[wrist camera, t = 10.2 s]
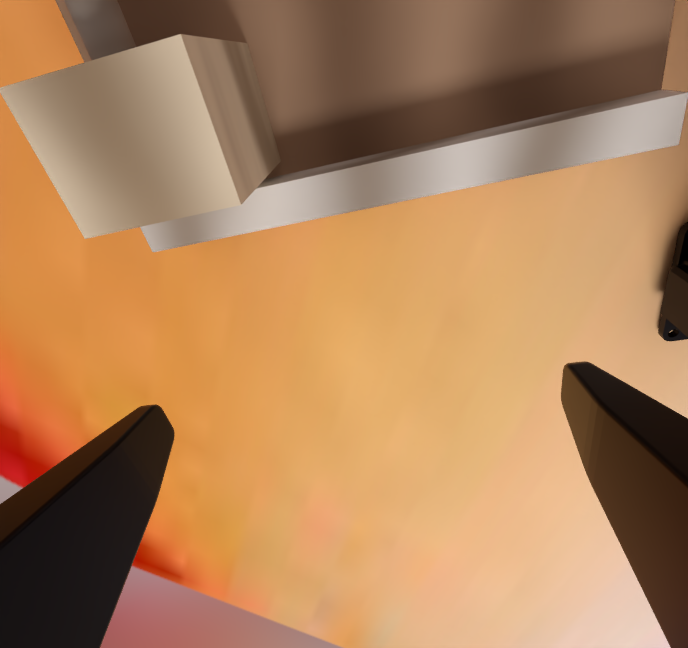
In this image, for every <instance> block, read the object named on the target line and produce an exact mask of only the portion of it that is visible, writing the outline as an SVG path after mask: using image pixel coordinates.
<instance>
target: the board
mask: <svg viewBox="0 0 688 648" xmlns="http://www.w3.org/2000/svg"><path fill="white" fill-rule="evenodd" d="M117 1H118V3H119V6H120V8H121V11H122V13H123V15H124V18H125V20H126V23H127V25H128V28H129V30H130V33H131V35H132V38H133V40H134V42H135V45H136V47H139V46H142V45H145V44H149V43H152V42H156V41H159V40H162V39H166V38H169V37H172V36H176V35H179V34H184V35H191V36H198V37H206V38H213V39H220V40H227V41H235V42H242V43H247V44H248V47H249V51H250V54H251V58H252V61H253V65H254V68H255V72H256V75H257V79H258V82H259V86H260V89H261V93H262V96H263V100H264V103H265V106H266V110H267V113H268V117H269V120H270V124H271V127H272V131H273V134H274V138H275V141H276V145H277V148H278V152H279V155H280V159H281V162H280V163H279V164H278V165H277V166H276V167H275V168H274V169H273V170H272V172H271V173H270V174H269V175H268V176H267V177H266V178H265V179H264V180H263V181H262V183H261V184H260V185H259V186H258V187H257V188H256V189H255V190H254V191H253V193H252V194H251V195H250V196H249V197H248V198H247V199H246V200H245V201H244V202H243V204H242V205H239V206H234V207H230V208H225V209H220V210H216V211H211V212H206V213H202V214H197V215H193V216H188V217H183V218H179V219H174V220H170V221H165V222H160V223H156V224H151V225H147V226H142V227H140V228H141V230H142V232H143V234H144V236H145V238H146V240H147V242H148V244H149V246H150V248H151V250H152V252H157V251H162V250H167V249H172V248H177V247H182V246H186V245H191V244H196V243H201V242H206V241H211V240H216V239H221V238H226V237H230V236H235V235H240V234H245V233H250V232H255V231H260V230H265V229H270V228H274V227H279V226H284V225H289V224H294V223H299V222H304V221H309V220H314V219H318V218H323V217H328V216H333V215H338V214H343V213H348V212H353V211H358V210H362V209H367V208H372V207H377V206H382V205H387V204H392V203H397V202H402V201H406V200H411V199H416V198H421V197H426V196H431V195H436V194H441V193H446V192H450V191H455V190H460V189H465V188H470V187H475V186H480V185H485V184H490V183H494V182H499V181H504V180H509V179H514V178H519V177H524V176H529V175H534V174H538V173H543V172H548V171H553V170H558V169H563V168H568V167H573V166H578V165H582V164H587V163H592V162H597V161H602V160H607V159H612V158H617V157H622V156H626V155H631V154H636V153H641V152H646V151H651V150H656V149H661V148H666V147H670V146H675V145H679V141H680V136H681V131H682V125H683V120H684V115H685V109H686V104H687V99H688V92H680V91H670V90H661V88H662V81H663V75H664V69H665V62H666V56H667V50H668V43H669V37H670V30H671V24H672V18H673V11H674V5H675V0H117ZM56 3H57V5H58V7H59V9H60V11H61V13H62V15H63V18H64V20H65V22H66V24H67V26H68V28H69V30H70V32H71V35H72V37H73V39H74V41H75V43H76V45H77V47H78V49H79V52H80V54H81V56H82V58H83V60H84V62H88V61H92V60H91V58H90V56H89V54H88V51H87V49H86V47H85V45H84V43H83V41H82V38H81V36H80V34H79V32H78V30H77V28H76V25H75V23H74V21H73V19H72V17H71V15H70V12H69V10H68V8H67V6H66V4H65V2H64V0H56Z"/></svg>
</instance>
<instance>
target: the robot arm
mask: <svg viewBox="0 0 688 648" xmlns="http://www.w3.org/2000/svg"><path fill="white" fill-rule="evenodd" d="M661 314H662V315H661V320H660V325H659V330H658V334H659V335H660V336H661V337H662V338H663V339H664V340H666V341H677V340H684V339H688V222H687V223H685V224H684V225H683V226H682V227H681V229H680V231H679V234H678V239H677V244H676V249H675V253H674V258H673V263H672V268H671V269H670V271H669V273H668V278H667V283H666V288H665V293H664V298H663V302H662V307H661ZM671 330H673V331H672V332H670V331H671ZM669 332H670V333H669ZM561 401H562V405H563V408H564V411H565V414H566V417H567V420H568V423H569V426H570V428H571V431H572V434H573V437H574V440H575V443H576V446H577V449H578V451H579V454H580V457H581V460H582V463H583V466H584V468H585V471H586V474H587V476H588V478H589V480H590V483H591V485H592V487H593V489H594V491H595V493H596V495H597V497H598V499H599V501H600V503H601V505H602V508H603V510H604V512H605V514H606V516H607V518H608V520H609V522H610V524H611V526H612V528H613V530H614V532H615V534H616V536H617V538H618V540H619V542H620V544H621V546H622V549H623V551H624V553H625V555H626V557H627V559H628V561H629V563H630V565H631V567H632V569H633V571H634V573H635V575H636V577H637V579H638V581H639V583H640V585H641V587H642V590H643V592H644V594H645V596H646V598H647V600H648V602H649V604H650V606H651V608H652V610H653V612H654V614H655V616H656V618H657V620H658V622H659V624H660V626H661V629H662V631H663V633H664V635H665V637H666V639H667V641H668V643H669V645H670V647H671V648H688V419H687V418H686V417H684V416H682V415H680V414H679V413H677V412H675V411H673V410H672V409H670V408H668V407H666V406H665V405H663V404H661V403H659V402H658V401H656V400H654V399H652V398H651V397H649V396H647V395H646V394H644V393H642V392H640V391H639V390H637V389H635V388H633V387H632V386H630V385H628V384H626V383H625V382H623V381H621V380H619V379H618V378H616V377H614V376H612V375H611V374H609V373H607V372H605V371H604V370H602V369H600V368H598V367H597V366H595V365H593V364H592V363H589V362H575V363H567V364H566V365H565V366H564V369H563V378H562V388H561ZM173 441H174V429H173V427H172V425H171V423H170V422H169V420H168V418H167V416H166V415H165V413H164V411H163V409H162V408H161V407H160V406H158V405H146V406H141V407H139V408H137V409H136V410H134V411H133V412H131V413H130V414H129V415H127V416H126V417H124V418H123V419H121V420H120V421H119V422H117V423H116V424H114V425H113V426H111V427H110V428H109V429H107V430H106V431H104V432H103V433H101V434H100V435H99V436H97V437H96V438H94V439H93V440H91V441H90V442H89V443H87V444H86V445H84V446H83V447H81V448H80V449H79V450H77V451H76V452H74V453H73V454H71V455H70V456H68V457H67V458H66V459H64V460H63V461H61V462H60V463H58V464H57V465H56V466H54V467H53V468H51V469H50V470H48V471H47V472H46V473H44V474H43V475H41V476H40V477H38V478H37V479H36V480H34V481H33V482H31V483H30V484H28V485H27V486H26V487H24V488H23V489H21V490H20V491H18V492H17V493H16V494H14V495H13V496H11V497H10V498H8V499H7V500H6V501H4V502H3V503H1V504H0V648H100V647H101V644H102V641H103V639H104V636H105V633H106V631H107V628H108V626H109V623H110V620H111V618H112V615H113V613H114V610H115V608H116V605H117V602H118V600H119V597H120V595H121V592H122V589H123V587H124V584H125V581H126V579H127V576H128V574H129V571H130V569H131V566H132V563H133V561H134V558H135V556H136V553H137V550H138V548H139V545H140V543H141V540H142V538H143V535H144V532H145V530H146V527H147V525H148V522H149V519H150V517H151V514H152V512H153V509H154V506H155V503H156V501H157V498H158V494H159V491H160V488H161V484H162V481H163V477H164V473H165V470H166V466H167V463H168V459H169V455H170V452H171V448H172V444H173Z"/></svg>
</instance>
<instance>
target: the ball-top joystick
mask: <svg viewBox="0 0 688 648" xmlns="http://www.w3.org/2000/svg"><path fill="white" fill-rule="evenodd" d="M64 2H65V4H66V6H67V8H68V10H69V12H70V15H71V17H72V19H73V21H74V23H75V25H76V28H77V30H78V32H79V34H80V36H81V38H82V41H83V43H84V45H85V47H86V49H87V51H88V54H89V56H90V58H91V60H92V61H88V62H85V63H82V64H78V65H75V66H72V67H68V68H65V69H62V70H58V71H55V72H52V73H48V74H45V75H41V76H38V77H35V78H31V79H28V80H25V81H21V82H18V83H15V84H11V85H8V86H5V87H1V88H0V93H1V95H2V96H3V98H4V100H5V102H6V103H7V105H8V107H9V108H10V110H11V112H12V114H13V115H14V117H15V119H16V121H17V122H18V124H19V126H20V127H21V129H22V131H23V133H24V134H25V136H26V138H27V140H28V141H29V143H30V145H31V146H32V148H33V150H34V152H35V153H36V155H37V157H38V159H39V160H40V162H41V164H42V165H43V167H44V169H45V171H46V172H47V174H48V176H49V178H50V179H51V181H52V183H53V184H54V186H55V188H56V190H57V191H58V193H59V195H60V197H61V198H62V200H63V202H64V203H65V205H66V207H67V209H68V210H69V212H70V214H71V216H72V217H73V219H74V221H75V222H76V224H77V226H78V228H79V229H80V231H81V233H82V235H83V236H84V238H85V239H87V238H91V237H96V236H100V235H105V234H110V233H114V232H119V231H124V230H128V229H133V228H137V227H142V226H147V225H151V224H156V223H160V222H165V221H170V220H174V219H179V218H183V217H188V216H193V215H197V214H202V213H206V212H211V211H216V210H220V209H225V208H230V207H234V206H239V205H242V204H243V202H244V201H245V200H246V199H247V198H248V197H249V196H250V195H251V194H252V193H253V191H254V190H255V189H256V188H257V187H258V186H259V185H260V184H261V183H262V181H263V180H264V179H265V178H266V177H267V176H268V175H269V174H270V173H271V172H272V170H273V169H274V168H275V167H276V166H277V165H278V164H279V163H280V162H281V159H280V155H279V152H278V148H277V145H276V141H275V138H274V134H273V131H272V127H271V124H270V120H269V117H268V113H267V110H266V106H265V103H264V100H263V96H262V93H261V89H260V86H259V82H258V79H257V75H256V72H255V68H254V65H253V61H252V58H251V54H250V51H249V47H248V44H247V43H242V42H235V41H227V40H220V39H213V38H206V37H198V36H191V35H184V34H179V35H176V36H172V37H169V38H166V39H162V40H159V41H156V42H152V43H149V44H145V45H142V46H139V47H136V45H135V42H134V40H133V38H132V35H131V33H130V30H129V28H128V25H127V23H126V20H125V18H124V15H123V13H122V11H121V8H120V6H119V3H118V1H117V0H64Z"/></svg>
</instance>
